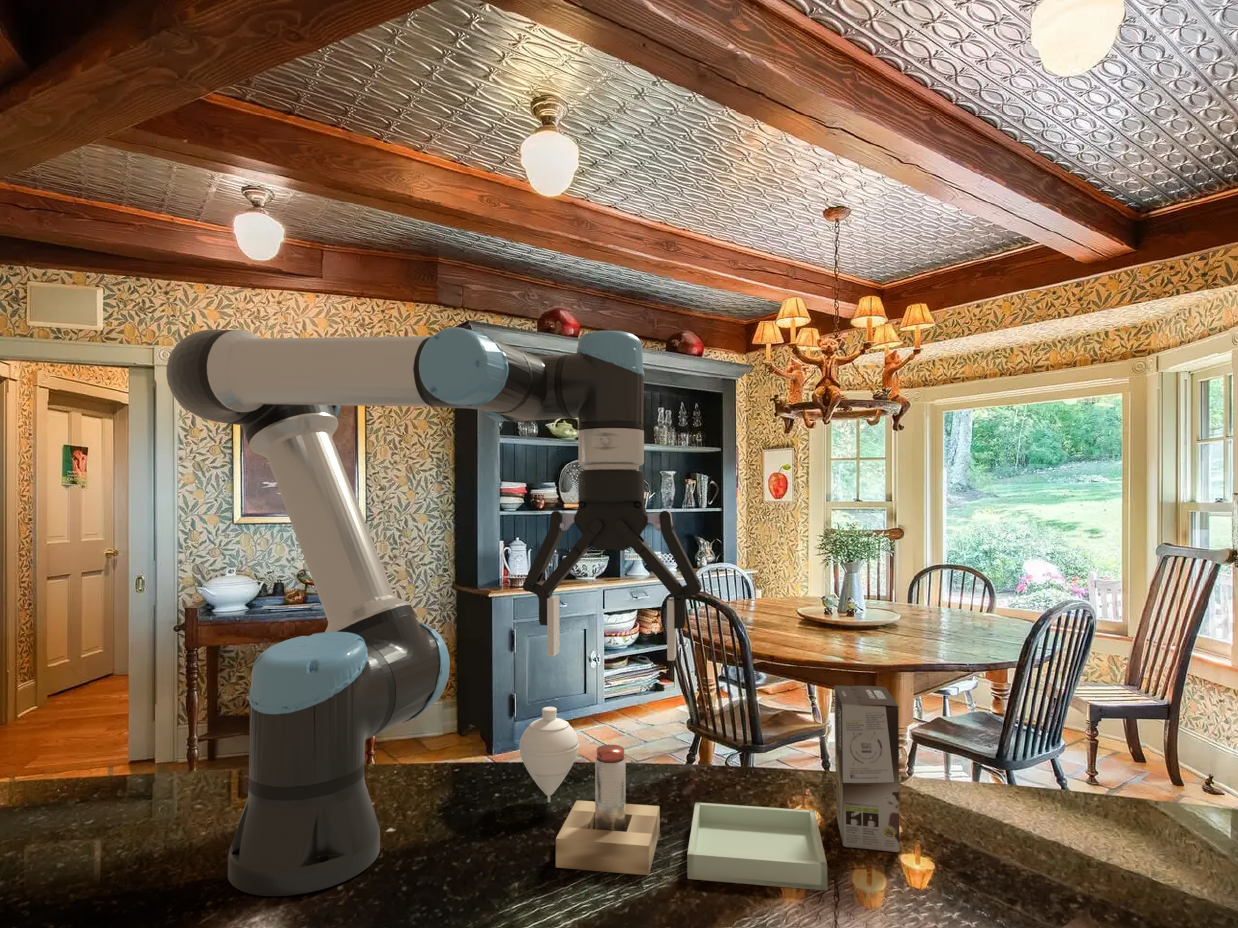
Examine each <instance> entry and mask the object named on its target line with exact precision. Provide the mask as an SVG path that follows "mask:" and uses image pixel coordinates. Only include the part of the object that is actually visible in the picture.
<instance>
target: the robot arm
mask: <svg viewBox="0 0 1238 928" xmlns="http://www.w3.org/2000/svg"><path fill="white" fill-rule="evenodd" d="M577 343H578V344H577V348H576V352H575V353H574V352H573V353H569V354H560V355H558V354H557V355H545V356H544V355H542V356H540V355H533V354H531V353H530V352H529V353H528V352H526V351H524V350H521V349H519V348H516V347H514V346H511V345H509V344H507V343H504V342H501V341H499V340H498V339H496V338H493V337H491V336H490V335H489V334H486V333H483V332H481V331H479V330H474V329H467V328H463V327H457V326H456V327H455V326H452V327H447V328H444V329H442V330H440V331H438V332H437V333H435V334H433V335H424V336H423V335H419V336H417V335H415V336H412V335H411V336H409V335H408V336H405V335H404V336H354V337H353V336H352V337H351V336H347V337H345V336H344V337H339V336H337V337H335V336H334V337H277V338H276V337H275V338H273V337H272V338H268V337H266V338H261V337H260V336H258V335H256V334H255V333H253V332H250V331H248V330H242V329H204V330H198V331H195V332H192V333H191V334H189V335H187V336H185V337H184V338H183V339H181V340H180V341H178V343H177V344H176V345H175V347H173V349H172V350H171V352H170V354H169V357H168V360H167V363H166V375H165V376H166V381H167V385H168V387H169V389H170V392H171V394H172V396H174V397H173V398H174V399H175V400H176V401H177V402H178V403H179V405H181V406H182V408H183V409H185V410H186V411H188V412H189V413H191V414H193V415H194V416H196V417H198V418H201V419H203V420H207V421H210V422H214V423H215V422H217V423H221V424H229V425H235V426H236V425H237V426H240V427H241V428H242V431H243V433H244V437H245V439H246V441H247V444H248V447H249V448H250V451H251V452H252V453H254V454H256V455H259V456H261V457H264V458H266V459H267V462H268V465H269V467H270V470H271V473H272V475H273V477H274V480H275V483H276V485H277V489H278V491H279V494H280V497H281V499H282V501H283V505H284V507H285V508H284V509H285V510H286V513H287V516H288V518H289V521H290V524H291V526H292V529H293V531H294V534H295V537H296V540H297V542H298V544H299V547H300V548H299V549H300V550H301V553H302V556H303V558H304V560H305V564H306V566H307V569H308V571H309V575H310V576H311V580H312V582H313V585H314V588H315V590H316V593H317V595H318V598H319V601H320V604H321V606H322V609H323V611H324V614H325V618H326V620H327V621H328V622H327V627H326V629H325V631H324V632H315V633H312V634H311V635H299V636H296V637H293V638H290V639H286V640H283V641H281V642H278V643H276V644H273V645H271V646H270V647H267V648H266V649H265V650H264V651H262V652H261V653H260V654H259V655H258V657H257V658H256V659H255V661H254V663H253V666H252V670H251V671H252V672H251V681H250V682H251V684H250V687H249V691H248V695H247V696H248V698H247V699H248V703H249V713H248V714H249V716H248V717H249V723H248V726H249V727H248V730H249V731H248V732H249V733H248V734H249V735H248V736H249V737H248V738H249V739H248V741H249V742H248V795H247V798H246V802H245V805H244V807H243V811H242V813H241V816H240V819H239V822H238V825H237V827H236V831H235V832H234V835H233V839H232V842H231V844H230V847H229V850H228V856H227V857H228V858H227V859H228V860H227V863H228V864H227V879H228V881H229V883H230V885H231V886H232V887H234V888H235V889H237V890H239V891H241V892H243V893H246V894H250V895H254V896H262V897H286V896H296V895H305V894H309V893H313V892H316V891H320V890H324V889H328V888H330V887H331V888H332V887H334V886H336V885H339V884H342V883H345V882H346V881H348V880H351V879H352V878H354V877H357V876H358V875H359V874H361V873H362V872H364V871H365V870H367V869H368V868H369V867H370V866H372V864H373V863H374V862H375V861H376V859H377V858H378V857H379V854H380V850H381V830H380V829H381V827H380V824H379V821H378V819H377V815H376V812H375V809H374V805H373V802H372V799H371V796H370V793H369V790H368V787H367V784H366V780H365V779H366V778H365V760H366V759H365V758H366V757H365V756H366V755H365V754H366V751H365V750H366V740H368V739H370V738H372V737H374V736H377V735H379V734H381V733H384V732H386V731H388V730H390V729H392V728H394V727H396V726H398V725H400V724H403V723H407V722H409V721H411V720H412V719H416V718H417V717H419V716H420V715H422V714H423V712H424V711H427V710H429V709H430V708H431V707H433V705H434V704H436V702H438V700H439V699H440V697H442V695H443V692H444V691H445V688H446V685H447V682H448V680H449V676H450V668H451V667H450V666H451V661H450V654H449V650H448V647H447V644H446V643H445V640H444V639H443V638H442V635H440V633H439V632H437V630H435V629H434V628H431V627H429V625H427V624H424V623H423V622H419V621H418V619H417V617H416V614H415V610H414V609H413V606H412V605H411V602H409V601H406V600H404V599H401V598H398V597H397V596H396V595H395V594H394V592H393V589H392V587H391V584H390V581H389V579H388V577H387V576H388V575H387V574H386V571H385V569H384V566H383V563H382V561H381V558H380V556H379V553H378V551H377V548H376V546H375V544H374V543H375V542H374V541H373V538H372V536H371V533H370V530H369V528H368V526H367V524H366V521H365V520H366V519H365V518H364V515H363V513H362V510H361V507H360V505H359V503H358V501H357V497H356V495H355V492H354V489H353V487H352V484H351V483H350V480H349V478H348V474H347V472H346V469H345V467H344V465H343V462H342V460H341V456H340V454H339V451H338V448H337V447H336V444H335V442H334V439H333V436H334V434H335V432H336V431H337V429H338V427H339V421H338V418H337V417H338V415H339V413H340V410H341V406H353V407H354V406H356V407H357V406H360V407H365V406H366V407H369V406H370V407H415V408H417V407H420V408H421V407H422V408H424V407H425V408H426V407H427V408H428V407H429V408H441V409H442V408H444V409H473V410H481V411H483V412H484V413H486V415H487V417H489V418H490V419H491V420H493V421H496V422H514V423H522V422H524V421H541V420H557V419H559V420H561V419H577V421H578V424H577V425H578V434H577V435H578V445H577V446H578V452H577V453H578V458H577V459H578V464H579V465H580V466H581V467H583V469H582V470H580V471H579V473H577V474H578V476H577V477H578V479H577V480H578V487H577V488H578V496H577V497H578V508H577V510H576V512H575V513H574V512H565V511H563V510H554V511H552V512H551V514H550V518H549V528H548V532H547V534H546V536H545V537H544V540H543V542H542V544H541V546H540V548H539V550H538V553H537V554H536V556H535V559H534V560H533V563H532V564H531V566H530V569H529V571H528V573H527V575H526V576H525V578H524V581H523V583H522V590H523V591H525V592H529V593H532V594H534V595H535V596H536V597H537V598H538V622H539V625H540V626H546V630H547V631H546V634H547V635H546V636H547V637H546V638H547V639H546V641H547V642H546V643H547V644H546V646H547V647H546V650H547V651H546V655H547V656H546V657H551V658H554V657H555V656H556V655H558V654H559V653H560V646H561V645H560V644H561V643H560V639H561V638H560V635H561V633H560V623H561V622H560V620H561V619H560V606H561V605H560V600H561V599H560V597H561V596H560V595H555V594H554V595H553V593H554V591H555V590H556V589H557V588H558V587H559V586H560V585H561V583H562V582H563V581H564V579H566V577H567V576H568V575H569V573H570V572H571V571H572V570H573V569H574V567H575V566H577V564H578V562H579V561H580V560H581V559H582V558H583V556H585V554H586V553H587V552H588V551H589V550H590V549H591V548H592V549H594V550H595V551H596V552H597V551H598V552H599V551H607V550H614V551H617V552H620V551H621V552H622V551H623V552H625V550H628V549H631V548H632V550H633V551H634V552H635V553H636V554H637V555H638V556H639V557H640V559H642V561H643V562H644V563H645V565H646V566H647V567H648V569H650V571H651V572H653V574H654V575H655V577H656V578H657V579H658V580H659V581H660V583H662V584H663V586H664V587H665V589H667V591H668V592H669V593H670V594H671V596H672V597H669V598H668V599H667V600H666V632H667V633H666V643H667V645H666V646H667V647H666V651H667V652H666V656H667V657H666V658H667V661H669V662H670V661H673V662H674V661H675V659H676V657H677V630H679V629H681V630H683V629H684V628H685V625H686V623H687V612H686V611H687V608H686V607H687V605H686V604H687V603H686V602H687V598H689V597H691V596H695V595H698V594H700V592H701V590H702V587H703V586H702V582H701V581H700V579H699V577H698V575H697V573H696V571H695V569H694V567H693V566H692V562H691V561H690V559H689V557H688V555H687V553H686V551H685V549H684V547H683V545H682V543H681V541H680V539H679V538H678V535H677V533H676V532H675V529H674V522H673V521H674V520H673V513H672V512H671V511H670V510H662V511H661V512H654V513H648V512H647V511H646V508H645V473H644V472H643V471H642V470H641V469H640V470H639V468H640V466H643V465H644V464H645V431H644V426H645V425H644V400H645V398H644V393H645V392H644V391H645V388H644V387H645V376H646V375H645V372H644V359H643V356H644V355H643V345H642V341H641V340H640V338H638V336H636V335H634V334H633V333H631V332H626V331H623V330H622V331H621V330H596V331H592V332H587V333H584V334H582V335H581V336H580V337H579V338H578V341H577ZM573 523H574V525H575V526H576V528H577V529H578V530H579V532H580V534H581V536H580V538H579V539H578V540H577V541H576V542H575V544H574V545H573V547H572V548H571V549H570V551H569V552H568V553H567V555H565V556H564V558H563V559H562V561H561V562H559V564H558V565H557V567H556V568H554V570H553V571H552V573H550V574H549V576H548V577H547V578H546V579H545V581H544V582H542V579H543V577H544V575H545V573H546V571H547V568H548V567H549V564H550V562H551V561H552V558H553V556H554V554H555V552H556V550H557V548H558V546H559V544H560V541H561V539H562V538H563V535H564V532H565V531H568V530H569V529H570V527H571V525H572V524H573ZM648 524H651V525H653V527H654V529H655V531H657V532H661V536H662V538H663V540H664V542H665V544H666V546H667V548H668V550H669V551H670V554H671V556H672V558H673V560H674V562H675V564H676V565H677V567H678V570H679V572H680V573H681V576H682V578H683V580H684V582H685V584H684V585H682V583H680V581H679V580H678V578H677V577H676V576H675V575H674V574H673V573H672V572H671V570H670V569H669V568H668V567H667V566H666V565H665V563H664V562H663V561H662V559H660V558H659V556H658V555H657V554H656V553H655V551H654V550H653V548H651V546H650V545H649V543H648V542H647V541H646V540H645V539H644V537H643V536H642V533H643V531H644V530H645V529H646V527H647V526H648Z"/></svg>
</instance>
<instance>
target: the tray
mask: <svg viewBox="0 0 1238 928" xmlns="http://www.w3.org/2000/svg"><path fill="white" fill-rule="evenodd" d="M825 853H826V852H825V849H824V846H823V839H822V837H821V831H820V828H819V823H818V820H817V815H816V810H812V809H811V810H809V809H797V808H781V807H767V806H754V805H740V804H739V805H738V804H727V803H726V804H722V803H710V802H709V803H707V802H697V801H696V802H695V803H694V808H693V815H692V821H691V830H690V835H689V841H688V847H687V859H686V861H687V865H686V866H687V879H688V880H700V881H709V882H721V883H733V884H746V885H757V886H767V887H779V888H780V887H781V888H789V889H790V888H792V889H803V890H814V891H824V892H825V891H827V892H828V889H829V888H828V863H827V858H826V855H825Z"/></svg>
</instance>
